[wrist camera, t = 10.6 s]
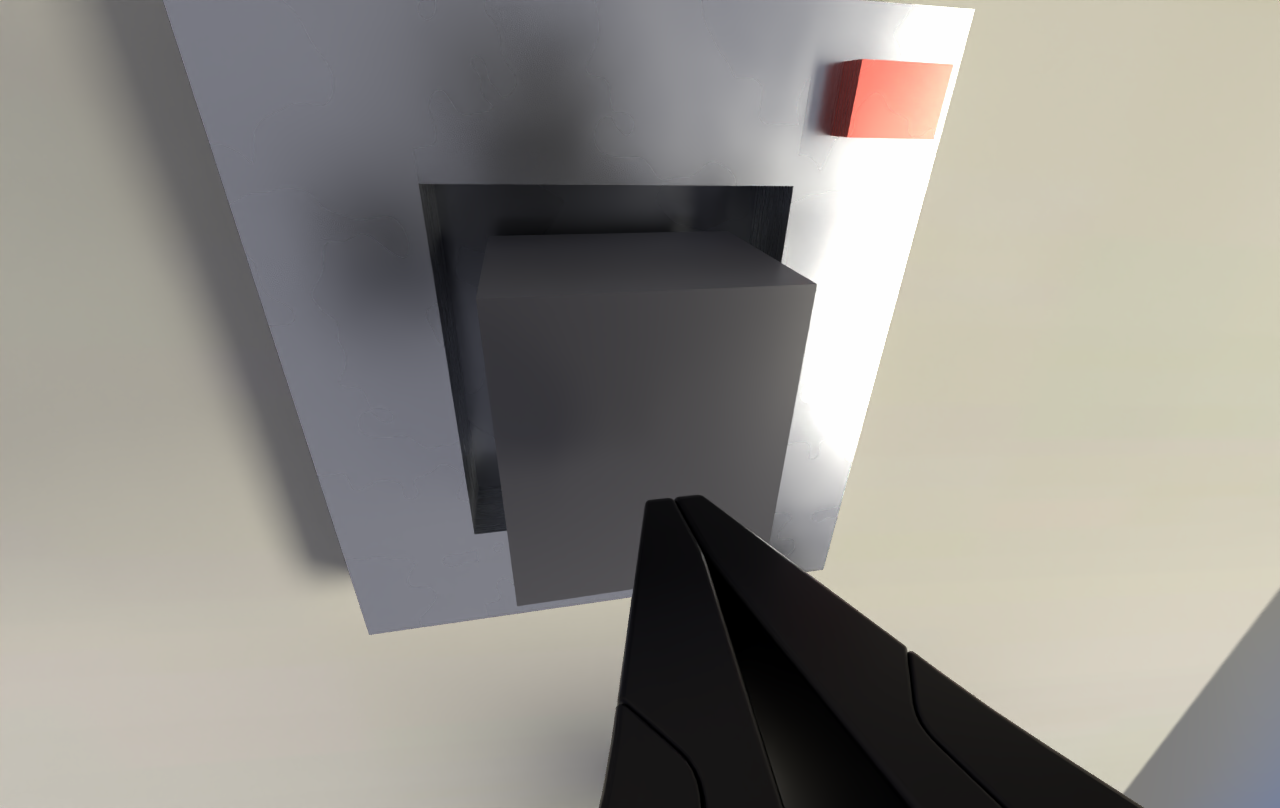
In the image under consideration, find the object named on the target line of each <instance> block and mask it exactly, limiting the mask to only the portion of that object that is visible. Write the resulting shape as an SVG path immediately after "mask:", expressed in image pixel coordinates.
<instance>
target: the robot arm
mask: <svg viewBox="0 0 1280 808" xmlns="http://www.w3.org/2000/svg"><path fill="white" fill-rule="evenodd" d="M599 808H1144V807H1142V806H1141V805H1139V804H1138V803H1136V802H1134V801H1133V800H1131V799H1130V798H1128V797H1127V796H1125V795H1124V794H1122V793H1120V792H1119V791H1117V790H1116V789H1114V788H1113V787H1111V786H1110V785H1108V784H1106V783H1105V782H1103V781H1102V780H1100V779H1099V778H1097V777H1096V776H1094V775H1092V774H1091V773H1089V772H1088V771H1086V770H1085V769H1083V768H1082V767H1080V766H1078V765H1077V764H1075V763H1074V762H1072V761H1071V760H1069V759H1068V758H1066V757H1064V756H1063V755H1061V754H1060V753H1058V752H1057V751H1055V750H1054V749H1052V748H1050V747H1049V746H1047V745H1046V744H1044V743H1043V742H1041V741H1040V740H1038V739H1037V738H1035V737H1034V736H1032V735H1031V734H1029V733H1028V732H1026V731H1025V730H1023V729H1022V728H1020V727H1019V726H1017V725H1016V724H1014V723H1013V722H1011V721H1010V720H1008V719H1007V718H1005V717H1004V716H1002V715H1001V714H999V713H998V712H996V711H995V710H993V709H992V708H990V707H989V706H988V705H986V704H985V703H983V702H982V701H981V700H979V699H978V698H976V697H975V696H974V695H972V694H971V693H969V692H968V691H967V690H965V689H964V688H962V687H961V686H960V685H958V684H957V683H955V682H954V681H953V680H951V679H950V678H948V677H947V676H946V675H944V674H943V673H941V672H940V671H939V670H937V669H936V668H935V667H933V666H932V665H931V664H929V663H928V662H927V661H925V660H924V659H923V658H921V657H920V656H919V655H917V654H916V653H914V652H913V651H910V652H907V648H906V646H905V645H903V644H902V643H901V642H899V641H898V640H897V639H895V638H894V637H893V636H891V635H890V634H889V633H887V632H886V631H885V630H883V629H882V628H881V627H879V626H878V625H876V624H875V623H874V622H872V621H871V620H870V619H868V618H867V617H866V616H864V615H863V614H862V613H860V612H859V611H858V610H856V609H855V608H854V607H852V606H851V605H850V604H848V603H847V602H846V601H844V600H843V599H842V598H840V597H839V596H837V595H836V594H835V593H833V592H832V591H831V590H829V589H828V588H827V587H825V586H824V585H823V584H821V583H820V582H819V581H817V580H816V579H815V578H813V577H812V576H811V575H809V574H808V573H807V572H805V571H804V570H803V569H801V568H800V567H798V566H797V565H796V564H794V563H793V562H792V561H790V560H789V559H788V558H786V557H785V556H784V555H782V554H781V553H780V552H778V551H777V550H776V549H774V548H773V547H772V546H770V545H769V544H768V543H766V542H765V541H764V540H762V539H761V538H759V537H758V536H757V535H755V534H754V533H753V532H751V531H750V530H749V529H747V528H746V527H745V526H743V525H742V524H741V523H739V522H738V521H737V520H735V519H734V518H733V517H731V516H730V515H729V514H727V513H726V512H725V511H723V510H722V509H720V508H719V507H718V506H716V505H715V504H714V503H712V502H711V501H710V500H708V499H707V498H706V497H704V496H702V495H688V496H679V497H676V498H675V499H674V500H673V499H672V498H661V499H651V500H648V501H646V503H645V507H644V514H643V521H642V529H641V536H640V543H639V550H638V557H637V564H636V571H635V579H634V586H633V593H632V600H631V607H630V614H629V621H628V628H627V636H626V643H625V650H624V657H623V664H622V671H621V678H620V686H619V693H618V704H617V707H616V711H615V718H614V726H613V733H612V740H611V746H610V752H609V757H608V763H607V769H606V774H605V780H604V786H603V791H602V796H601V800H600V805H599Z"/></svg>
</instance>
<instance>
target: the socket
mask: <svg viewBox="0 0 1280 808" xmlns="http://www.w3.org/2000/svg"><path fill="white" fill-rule="evenodd" d="M163 2H164V5H165V9H166V12H167V15H168V18H169V21H170V24H171V27H172V30H173V33H174V36H175V39H176V42H177V45H178V49H179V52H180V55H181V58H182V61H183V64H184V67H185V70H186V73H187V76H188V79H189V82H190V85H191V88H192V92H193V95H194V98H195V101H196V104H197V107H198V110H199V113H200V116H201V119H202V122H203V125H204V128H205V132H206V135H207V138H208V141H209V144H210V147H211V150H212V153H213V156H214V159H215V162H216V165H217V168H218V171H219V175H220V178H221V181H222V184H223V187H224V190H225V193H226V196H227V199H228V202H229V205H230V208H231V211H232V214H233V218H234V221H235V224H236V227H237V230H238V233H239V236H240V239H241V242H242V245H243V248H244V251H245V254H246V258H247V261H248V264H249V267H250V270H251V273H252V276H253V279H254V282H255V285H256V288H257V291H258V294H259V297H260V301H261V304H262V307H263V310H264V313H265V316H266V319H267V322H268V325H269V328H270V331H271V334H272V337H273V341H274V344H275V347H276V350H277V353H278V356H279V359H280V362H281V365H282V368H283V371H284V374H285V377H286V380H287V384H288V387H289V390H290V393H291V396H292V399H293V402H294V405H295V408H296V411H297V414H298V417H299V420H300V424H301V427H302V430H303V433H304V436H305V439H306V442H307V445H308V448H309V451H310V454H311V457H312V460H313V463H314V467H315V470H316V473H317V476H318V479H319V482H320V485H321V488H322V491H323V494H324V497H325V500H326V503H327V507H328V510H329V513H330V516H331V519H332V522H333V525H334V528H335V531H336V534H337V537H338V540H339V543H340V546H341V550H342V553H343V556H344V559H345V562H346V565H347V568H348V571H349V574H350V577H351V580H352V583H353V586H354V589H355V593H356V596H357V599H358V602H359V605H360V608H361V611H362V614H363V617H364V620H365V623H366V626H367V629H368V633H369V635H372V634H379V633H385V632H392V631H399V630H406V629H413V628H420V627H427V626H434V625H441V624H448V623H455V622H462V621H469V620H476V619H483V618H490V617H497V616H504V615H510V614H517V613H524V612H531V611H538V610H545V609H552V608H559V607H566V606H573V605H580V604H587V603H594V602H601V601H608V600H615V599H622V598H629V597H632V593H633V589H631V590H624V591H618V592H611V593H604V594H597V595H591V596H584V597H577V598H571V599H564V600H557V601H550V602H544V603H537V604H530V605H523V606H517V602H516V595H515V587H514V580H513V572H512V565H511V557H510V550H509V543H508V535H507V528H506V520H505V513H504V505H503V498H502V490H501V483H500V475H499V468H498V460H497V453H496V446H495V438H494V431H493V423H492V416H491V408H490V401H489V393H488V386H487V378H486V371H485V363H484V356H483V349H482V341H481V334H480V326H479V319H478V311H477V304H476V295H477V290H478V285H479V280H480V275H481V270H482V265H483V260H484V255H485V250H486V245H487V240H488V236H515V235H560V234H606V233H651V232H697V231H728V232H730V233H732V234H733V235H735V236H737V237H738V238H740V239H742V240H744V241H745V242H747V243H749V244H750V245H752V246H754V247H755V248H757V249H759V250H760V251H762V252H764V253H765V254H767V255H769V256H771V257H772V258H774V259H776V260H777V261H779V262H781V263H782V264H784V265H786V266H787V267H789V268H791V269H793V270H794V271H796V272H798V273H799V274H801V275H803V276H804V277H806V278H808V279H809V280H811V281H813V282H814V283H816V284H817V288H816V293H815V299H814V304H813V310H812V315H811V320H810V326H809V331H808V337H807V342H806V348H805V353H804V358H803V364H802V369H801V375H800V380H799V385H798V391H797V396H796V402H795V407H794V413H793V418H792V423H791V429H790V434H789V440H788V445H787V451H786V456H785V461H784V467H783V472H782V478H781V483H780V488H779V494H778V499H777V505H776V510H775V516H774V521H773V526H772V532H771V537H770V543H769V545H770V546H772V547H773V548H774V549H776V550H777V551H778V552H780V553H781V554H782V555H784V556H785V557H786V558H788V559H789V560H790V561H792V562H793V563H794V564H796V565H797V566H798V567H800V568H801V569H803V570H804V571H805V572H809V571H816V570H823V568H824V564H825V561H826V557H827V553H828V550H829V546H830V542H831V539H832V535H833V531H834V528H835V524H836V520H837V516H838V513H839V509H840V505H841V502H842V498H843V494H844V491H845V487H846V483H847V480H848V476H849V472H850V468H851V465H852V461H853V457H854V454H855V450H856V446H857V443H858V439H859V435H860V432H861V428H862V424H863V420H864V417H865V413H866V409H867V406H868V402H869V398H870V395H871V391H872V387H873V384H874V380H875V376H876V372H877V369H878V365H879V361H880V358H881V354H882V350H883V347H884V343H885V339H886V336H887V332H888V328H889V324H890V321H891V317H892V313H893V310H894V306H895V302H896V299H897V295H898V291H899V288H900V284H901V280H902V276H903V273H904V269H905V265H906V262H907V258H908V254H909V251H910V247H911V243H912V240H913V236H914V232H915V228H916V225H917V221H918V217H919V214H920V210H921V206H922V203H923V199H924V195H925V192H926V188H927V184H928V180H929V177H930V173H931V169H932V166H933V162H934V158H935V155H936V151H937V147H938V144H939V140H940V136H941V132H942V129H943V125H944V121H945V118H946V114H947V110H948V107H949V103H950V99H951V96H952V92H953V88H954V84H955V81H956V77H957V73H958V70H959V66H960V62H961V59H962V55H963V51H964V48H965V44H966V40H967V36H968V33H969V29H970V25H971V22H972V18H973V14H974V11H975V9H966V8H954V7H941V6H929V5H916V4H904V3H892V2H879V1H867V0H163Z"/></svg>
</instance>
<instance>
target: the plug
mask: <svg viewBox="0 0 1280 808" xmlns="http://www.w3.org/2000/svg"><path fill="white" fill-rule="evenodd" d="M816 288H817V284H816V283H814V282H813V281H811V280H809V279H808V278H806V277H804V276H803V275H801V274H799V273H798V272H796V271H794V270H793V269H791V268H789V267H787V266H786V265H784V264H782V263H781V262H779V261H777V260H776V259H774V258H772V257H771V256H769V255H767V254H765V253H764V252H762V251H760V250H759V249H757V248H755V247H754V246H752V245H750V244H749V243H747V242H745V241H744V240H742V239H740V238H738V237H737V236H735V235H733V234H732V233H730V232H728V231H697V232H651V233H606V234H560V235H515V236H488V240H487V245H486V250H485V255H484V260H483V265H482V270H481V275H480V280H479V285H478V290H477V295H476V304H477V311H478V319H479V326H480V334H481V341H482V349H483V356H484V363H485V371H486V378H487V386H488V393H489V401H490V408H491V416H492V423H493V431H494V438H495V446H496V453H497V460H498V468H499V475H500V483H501V490H502V498H503V505H504V513H505V520H506V528H507V535H508V543H509V550H510V557H511V565H512V572H513V580H514V587H515V595H516V602H517V606H523V605H530V604H537V603H544V602H550V601H557V600H564V599H571V598H577V597H584V596H591V595H597V594H604V593H611V592H618V591H624V590H631V589H633V586H634V579H635V571H636V564H637V557H638V550H639V543H640V536H641V529H642V521H643V514H644V507H645V503H646V501H648V500H651V499H661V498H672V499H673V500H674V499H675V498H676V497H679V496H688V495H702V496H704V497H706V498H707V499H708V500H710V501H711V502H712V503H714V504H715V505H716V506H718V507H719V508H720V509H722V510H723V511H725V512H726V513H727V514H729V515H730V516H731V517H733V518H734V519H735V520H737V521H738V522H739V523H741V524H742V525H743V526H745V527H746V528H747V529H749V530H750V531H751V532H753V533H754V534H755V535H757V536H758V537H759V538H761V539H762V540H764V541H765V542H766V543H768V544H769V543H770V537H771V532H772V526H773V521H774V516H775V510H776V505H777V499H778V494H779V488H780V483H781V478H782V472H783V467H784V461H785V456H786V451H787V445H788V440H789V434H790V429H791V423H792V418H793V413H794V407H795V402H796V396H797V391H798V385H799V380H800V375H801V369H802V364H803V358H804V353H805V348H806V342H807V337H808V331H809V326H810V320H811V315H812V310H813V304H814V299H815V293H816Z"/></svg>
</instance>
